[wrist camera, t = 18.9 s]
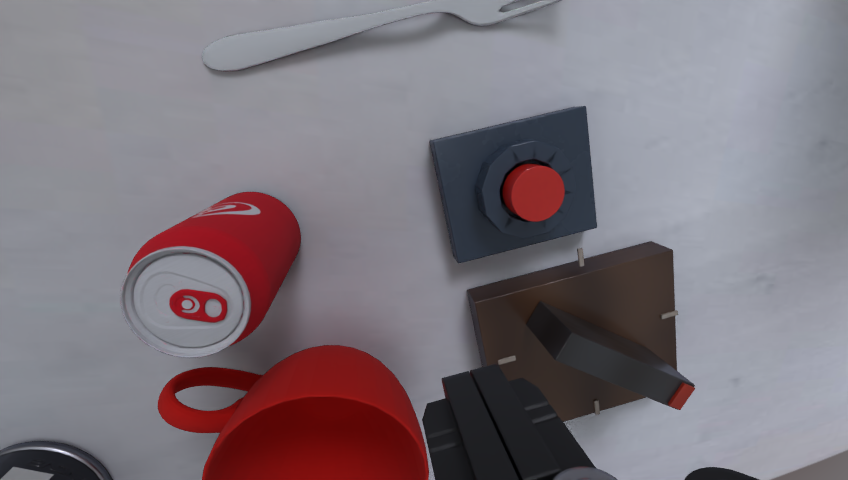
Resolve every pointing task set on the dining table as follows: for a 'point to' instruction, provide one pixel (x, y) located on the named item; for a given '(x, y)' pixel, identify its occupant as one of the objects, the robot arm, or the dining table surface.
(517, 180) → the red button
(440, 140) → the button box
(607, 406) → the control panel
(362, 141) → the dining table surface
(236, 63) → the fork
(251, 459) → the ceramic cup
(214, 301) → the beverage can
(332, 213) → the dining table surface
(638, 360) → the bar knob
